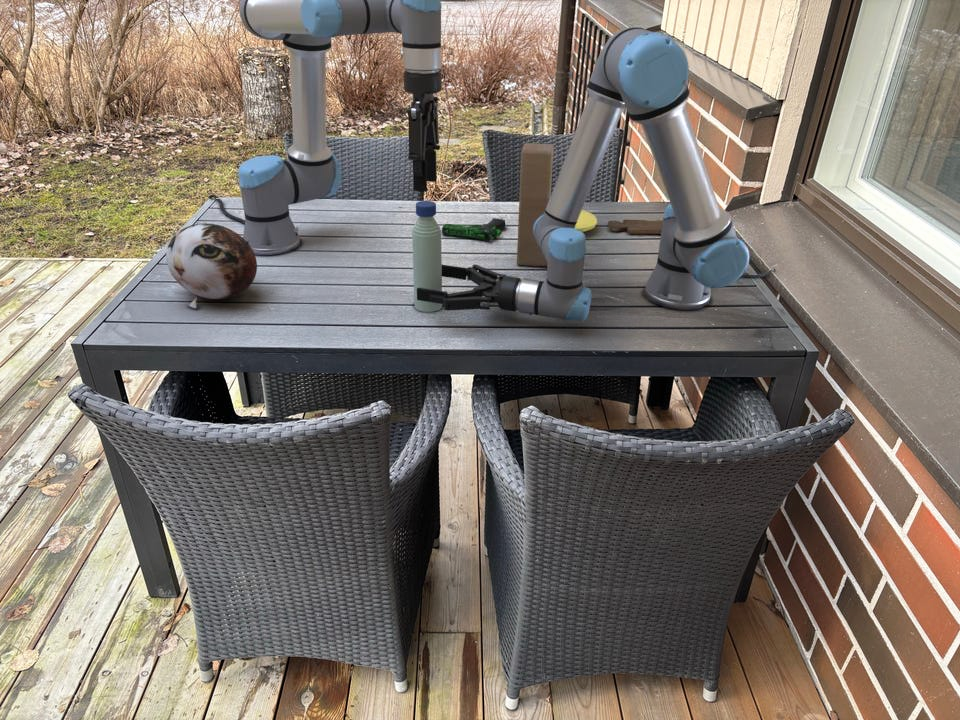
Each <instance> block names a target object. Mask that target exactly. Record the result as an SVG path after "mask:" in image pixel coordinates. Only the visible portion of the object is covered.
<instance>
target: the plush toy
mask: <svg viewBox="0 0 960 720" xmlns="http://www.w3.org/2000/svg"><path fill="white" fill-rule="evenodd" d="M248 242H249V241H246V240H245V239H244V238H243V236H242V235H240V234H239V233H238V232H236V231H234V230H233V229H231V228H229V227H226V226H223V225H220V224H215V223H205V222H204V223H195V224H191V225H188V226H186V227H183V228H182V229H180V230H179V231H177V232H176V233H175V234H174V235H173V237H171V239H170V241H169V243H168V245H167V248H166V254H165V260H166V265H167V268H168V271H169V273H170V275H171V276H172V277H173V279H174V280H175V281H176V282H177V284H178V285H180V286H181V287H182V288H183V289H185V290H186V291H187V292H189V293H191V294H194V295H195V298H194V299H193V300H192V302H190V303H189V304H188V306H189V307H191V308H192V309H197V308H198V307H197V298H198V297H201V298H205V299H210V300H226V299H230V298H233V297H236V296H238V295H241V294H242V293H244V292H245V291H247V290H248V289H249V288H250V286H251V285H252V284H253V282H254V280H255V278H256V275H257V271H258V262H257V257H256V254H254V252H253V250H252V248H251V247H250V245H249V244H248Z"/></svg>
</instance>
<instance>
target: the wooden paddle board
mask: <svg viewBox="0 0 960 720" xmlns="http://www.w3.org/2000/svg"><path fill="white" fill-rule="evenodd" d="M607 224H608V229H609V231H610V232H613V233H615V232H616V233H617V232H623V231H627V234H629V235H641V234H655V235H656V234H657V235H659V234H660V235H661V232H662V225H663V219H660V220H657V219H656V220H649V219H648V220H647V219H623V220H622V222H621V221H619V220H615V219H614V220H608V221H607Z"/></svg>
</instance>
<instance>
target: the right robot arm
mask: <svg viewBox="0 0 960 720" xmlns="http://www.w3.org/2000/svg"><path fill="white" fill-rule="evenodd" d="M688 61H689V60H688V58H687V55H686V52H685V51H684V49H683V48H682V47H681V46H680V45H679V44H678V43H677V42H676V41H675V40H674V39H672V38H671V37H670V36H668V35H666V34H663V33H659V32H653V31H650V30H648V29H646V28H643V27H639V26H630V27H625V28H623V29H620V30H619V31H617V32H615V33H614V34H613V35H612V36H611V37H610V38H609V39H608V40H607V41H606V42H605V44H604V46H603V47H602V49H601V50H600V53H599V55H598V57H597V60H596V62H595V65H594V67H593V70H592V72H591V75H590V78H589V80H588V83H587V85H586V91H587V95H588V97H587V100H586V102H585V105H584V108H583V110H582V113H581V116H580V118H579V121H578V124H577V126H576V128H575V132H574V135H573V136H572V139H571V142H570V145H569V147H568V149H567V153H566V155H565V158H564V161H563V163H562V166H561V168H560V171H559V174H558V176H557V178H556V181H555V184H554V186H553V189H552V191H551V197H550V200H549V202H548V205H547V208H546V210H545V212H544V214H543V215H542V216H540V217H539V218H538V219H537V220H536V221H535V223H534V226H533V234H534V238H535V241H536V243H537V245H538V246H539V247H540V249H541V251H542V253H543V255H544V257H545V259H546V260H547V264H548V266H547V267H546V268H547V269H546V270H547V271H546V281H544V280H540V279H539V280H538V279H531V278H523V279H521V277H515V276H509V275H506V274H503V273H498V272H496V271H493V270H491V269H488V268H485V267H483V266H481V265H478V264H475V263H474V264H472V266H468V267H463V266H457V265H456V266H455V265H449V264H448V265H447V264H442V278H449V279H456V280H463V281H467V282H470V281H471V282H472V283H474V284H475V285H477V286H475V287H473V288H472V289H470V290H463V291H458V292H457V291H456V292H451V293H448V292H447V291H446V290H445V291H443V290H442V291H438V290H431V289H425V288H417V300H420V301H426V302H433V303H439V304H442V306H443V310H444V311H446V312H447V311H450V312H451V311H465V310H469V311H470V310H486V311H488V310H490V309H491V304H497V306H498V308H499V310H500V311H506V312H513V313H514V312H516V311H517V312H518V313H520V314H528V315H529V316H539V317H545V318H552V319H558V320H563V321H566V322H567V321H570V322H584V321H585V320H586V319H587V318H588V317H589V316H588V315H589V313H590V309H591V303H592V289H591V288H589V287H586V286H585V285H583V277H584V275H583V274H584V267H585V257H586V252H587V248H586V247H587V246H586V240H587V238H586V235H585V233H584V232H581V231H578V230H577V229H574V228H575V226H576V223H577V220H578V218H579V215H580V213H581V210H583V208H584V205H585V203H586V201H587V198H588V195H589V194H590V191H591V189H592V186H593V184H594V181H595V179H596V176H597V174H598V172H599V169H600V166H601V164H602V162H603V159H604V157H605V154H606V153H607V150H608V147H609V145H610V143H611V141H612V138H613V135H614V133H615V131H616V128H617V126H618V123H619V121H620V118H621V116H622V114H623V111H624V110H625V109H626V112H627V115H628V117H629V119H630V121H631V122H633V123H636V124H639V125H641V128H642V130H643V133H644V136H645V139H646V141H647V144H648V146H649V150H650V152H651V155H652V158H653V160H654V162H655V165H656V169H657V171H658V173H659V176H660V179H661V182H662V184H663V187H664V190H665V192H666V195H667V198H668V200H669V203H668V205H666V207H665V210H664V214H663V216H662V220H663V225H662V232H661V234H660V240H659V245H658V252H657V261H656V265H655V266H654V268H653V270H652V272H651V274H650V275H649V278H648V279H647V282H646V284H645V287H644V295H645V297H646V298H647V300H649V301H650V302H652V303H654V304H655V305H658V306H659V307H663V308H667V309H672V310H678V311H693V310H698V309H701V308H705V307H706V306H707V305H708V304H709V303H710V299H711V295H712V293H711V289H721V288H722V289H723V288H725V287H728V286H730V285H732V284H734V283H735V282H736V281H737V280H738V279H740V278H763V277H766V276H767V275H768V274H769V273H768V272H767V271H766V270H764V271H763V272H759V273H756V274H757V275H749V273H750V272H745V270H746V269H748V266H749V263H750V251H749V248H748V246H747V245H746V244H745V242H744V241H743V240H742V239H740V238H739V237H738V235H737V232H736V229H735V226H734V223H733V220H732V217H731V215H730V213H729V212H728V211H727V210H725V209H722V208H720V206H719V203H718V200H717V197H716V194H715V191H714V188H713V184H712V182H711V179H710V176H709V173H708V170H707V167H706V164H705V161H704V158H703V155H702V152H701V149H700V145H699V143H698V140H697V137H696V133H695V131H694V128H693V125H692V121H691V119H690V116H689V112H688V110H687V107H686V104H687V102H688V101H689V98H690V96H691V92H690V88H689V86H688V82H687V81H688V79H689V71H690V69H689V67H690V65H689V62H688Z"/></svg>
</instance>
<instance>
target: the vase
mask: <svg viewBox="0 0 960 720" xmlns="http://www.w3.org/2000/svg"><path fill="white" fill-rule="evenodd" d="M597 223H598V219H597V217H596V215H595V214H593V213H591V212H589V211H587V210H584V209H582V210H581V213H580V215H579V218H578V220H577V223H576V226H575V228H574V229H577V230H578V231H581V232H583V233H584V232H585V233H586V232H587V231H591V230H592V229H594V228H596V226H597Z"/></svg>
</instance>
